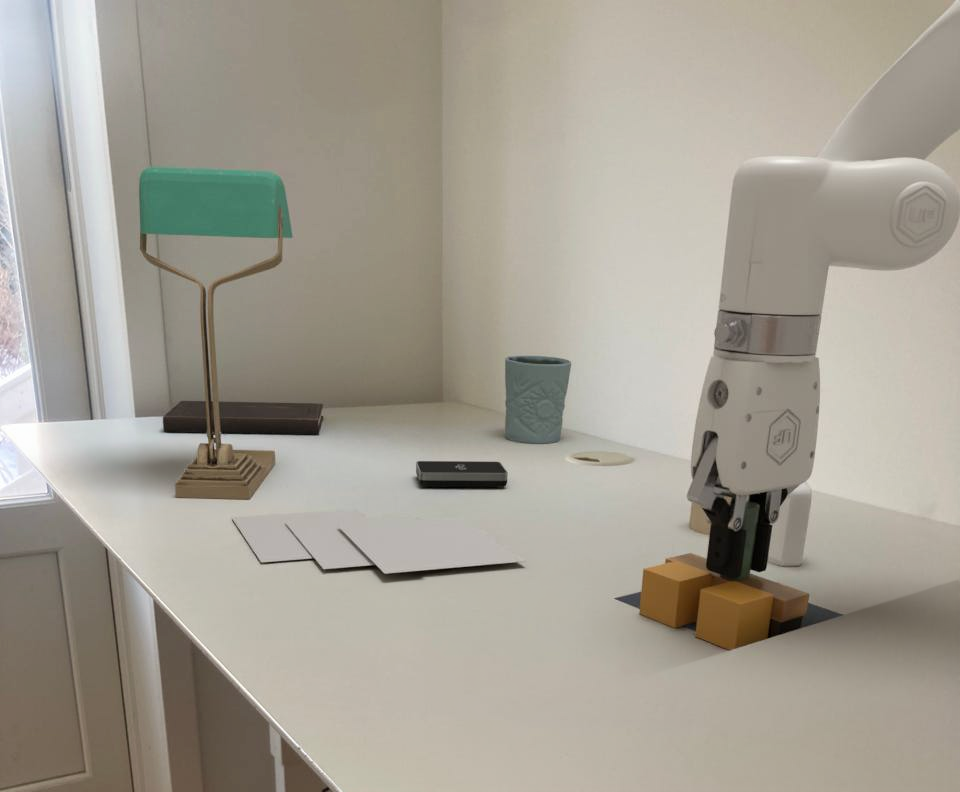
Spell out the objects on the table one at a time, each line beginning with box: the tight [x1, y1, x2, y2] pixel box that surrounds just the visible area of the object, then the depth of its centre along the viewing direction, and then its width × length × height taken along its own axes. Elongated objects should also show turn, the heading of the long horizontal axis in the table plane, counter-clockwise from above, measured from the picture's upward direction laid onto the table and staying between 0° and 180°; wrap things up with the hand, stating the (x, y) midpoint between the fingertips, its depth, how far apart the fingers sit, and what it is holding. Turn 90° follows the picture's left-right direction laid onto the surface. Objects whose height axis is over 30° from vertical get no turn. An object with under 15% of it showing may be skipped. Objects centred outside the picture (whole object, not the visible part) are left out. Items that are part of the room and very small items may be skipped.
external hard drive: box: [415, 460, 508, 489], centre depth 129 cm, size 7×11×2 cm, turn 98°
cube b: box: [638, 561, 712, 629], centre depth 85 cm, size 4×4×4 cm
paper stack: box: [231, 508, 526, 575], centre depth 103 cm, size 23×25×1 cm
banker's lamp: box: [138, 166, 293, 500], centre depth 121 cm, size 16×21×35 cm
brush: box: [664, 501, 811, 638], centre depth 84 cm, size 3×12×9 cm, turn 38°
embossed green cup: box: [504, 355, 572, 444], centre depth 157 cm, size 10×10×12 cm
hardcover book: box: [162, 400, 324, 436], centre depth 162 cm, size 16×23×2 cm
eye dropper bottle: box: [767, 480, 813, 567], centre depth 101 cm, size 4×6×12 cm
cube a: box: [694, 581, 774, 651], centre depth 80 cm, size 4×4×4 cm
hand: (735, 568), depth 84 cm, fingers closed on brush, 2 cm apart
